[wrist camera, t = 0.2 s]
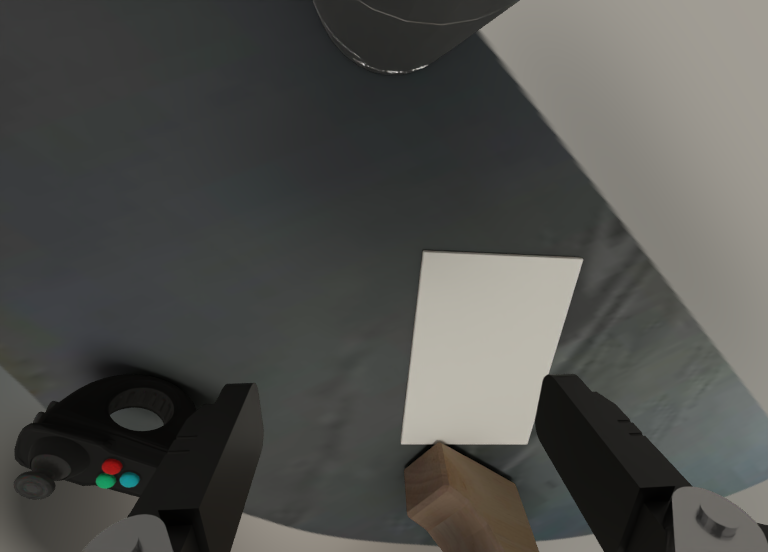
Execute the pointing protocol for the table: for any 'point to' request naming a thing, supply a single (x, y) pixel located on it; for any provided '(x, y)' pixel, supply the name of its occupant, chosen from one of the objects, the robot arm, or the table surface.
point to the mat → (483, 344)
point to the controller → (100, 437)
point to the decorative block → (466, 504)
